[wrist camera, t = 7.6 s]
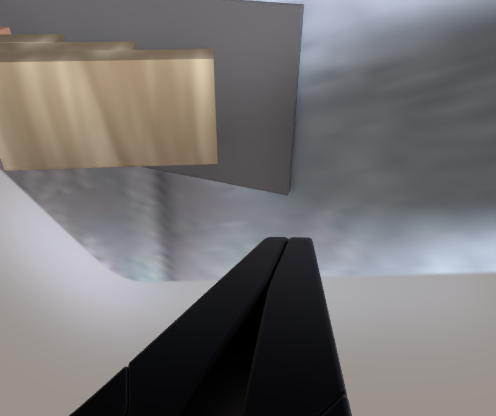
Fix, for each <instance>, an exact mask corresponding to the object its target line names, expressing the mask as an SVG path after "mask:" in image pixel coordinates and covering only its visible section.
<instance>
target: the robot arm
mask: <svg viewBox="0 0 496 416" xmlns="http://www.w3.org/2000/svg"><path fill="white" fill-rule="evenodd" d="M69 416H352V414H351V410H350V406H349V401H348V398H347V393H346V389H345V384H344V380H343V375H342V371H341V367H340V362H339V357H338V353H337V348H336V344H335V339H334V335H333V331H332V326H331V321H330V317H329V312H328V308H327V304H326V299H325V295H324V290H323V286H322V282H321V277H320V272H319V268H318V263H317V259H316V254H315V250H314V245H313V241H312V239H311V238H303V237H293V238H290V239H288V238H286V237H268V238H266V239H264V240H263V241H262V242H261V243H260V244H259V245H258V246H256V247H255V248H254V249H253V250H252V251H251V252H250V253H249V254H248V255H247V256H246V257H244V258H243V259H242V260H241V261H240V262H239V263H238V264H237V265H236V266H235V267H233V268H232V269H231V270H230V271H229V272H228V273H227V274H226V275H225V276H224V277H223V278H221V279H220V280H219V281H218V282H217V283H216V284H215V285H214V286H213V287H212V288H210V289H209V290H208V291H207V292H206V293H205V294H204V295H203V296H202V297H201V298H200V299H198V300H197V301H196V302H195V303H194V304H193V305H192V306H191V307H190V308H189V309H188V310H186V311H185V312H184V313H183V314H182V315H181V316H180V317H179V318H178V319H177V320H175V321H174V322H173V323H172V324H171V325H170V326H169V327H168V328H167V329H166V330H165V331H163V332H162V333H161V334H160V335H159V336H158V337H157V338H156V339H155V340H154V341H152V342H151V343H150V344H149V345H148V346H147V347H146V348H145V349H144V350H143V351H142V352H140V353H139V354H138V355H137V356H136V357H135V358H134V359H133V360H132V361H131V362H130V363H129V365H128V367H124V368H123V369H122V370H121V371H120V372H118V373H117V374H116V375H115V376H114V377H113V378H112V379H111V380H110V381H108V383H106V384H105V385H104V386H103V387H102V388H101V389H99V391H97V392H96V393H95V394H94V395H93V396H92V397H90V398H89V399H88V400H87V401H86V402H85V403H83V404H82V405H81V406H80V407H79V408H78V409H77V410H75V411H74V412H73V413H72V414H70V415H69Z"/></svg>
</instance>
